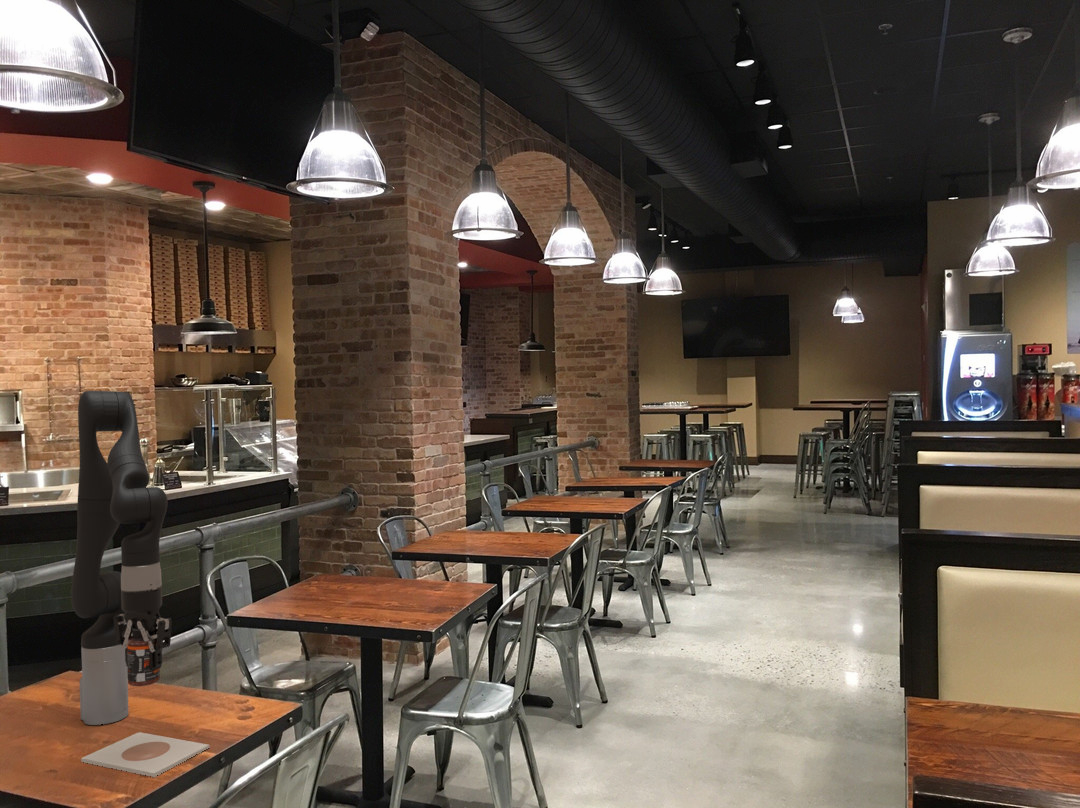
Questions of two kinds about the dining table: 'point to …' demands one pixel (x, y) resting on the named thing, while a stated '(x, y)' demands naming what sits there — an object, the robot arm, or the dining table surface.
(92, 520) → the robot arm
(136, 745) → the board
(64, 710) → the dining table surface
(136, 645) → the supplement bottle
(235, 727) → the dining table surface
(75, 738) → the dining table surface
